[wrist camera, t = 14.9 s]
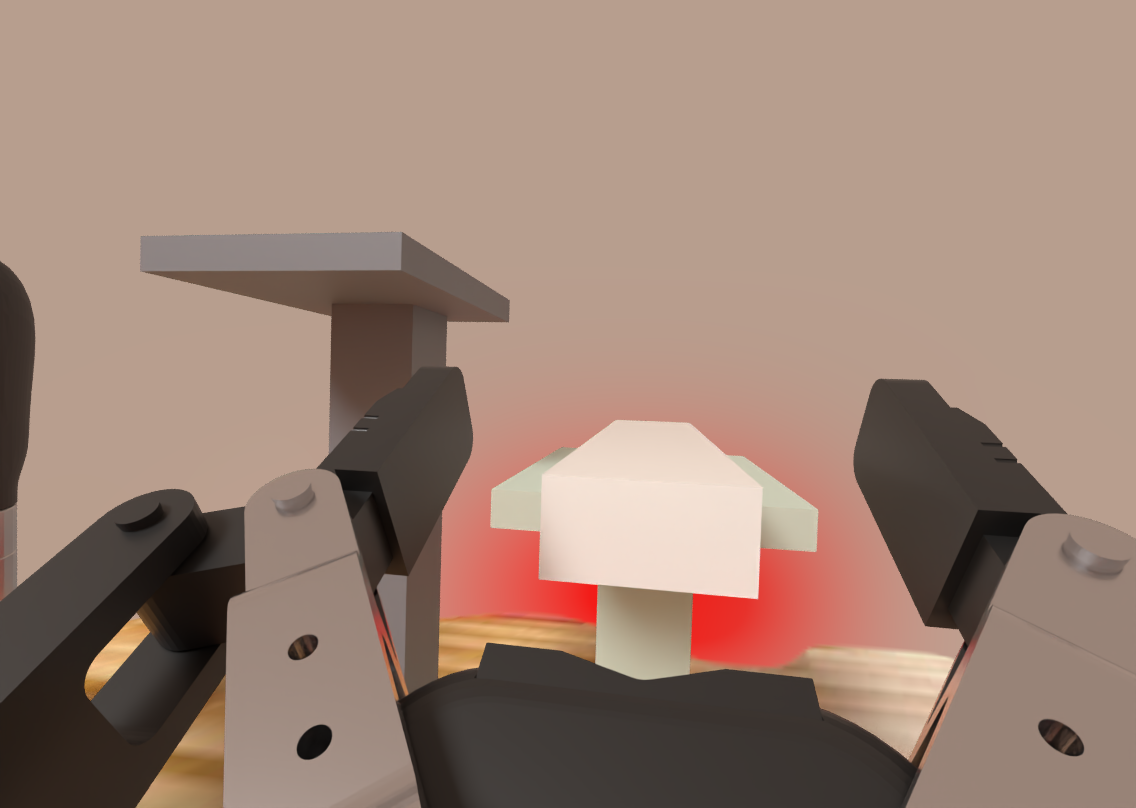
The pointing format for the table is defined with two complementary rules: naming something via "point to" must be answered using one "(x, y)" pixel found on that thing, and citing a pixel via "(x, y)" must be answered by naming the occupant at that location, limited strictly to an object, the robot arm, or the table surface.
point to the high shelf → (355, 351)
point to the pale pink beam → (651, 513)
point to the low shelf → (645, 616)
